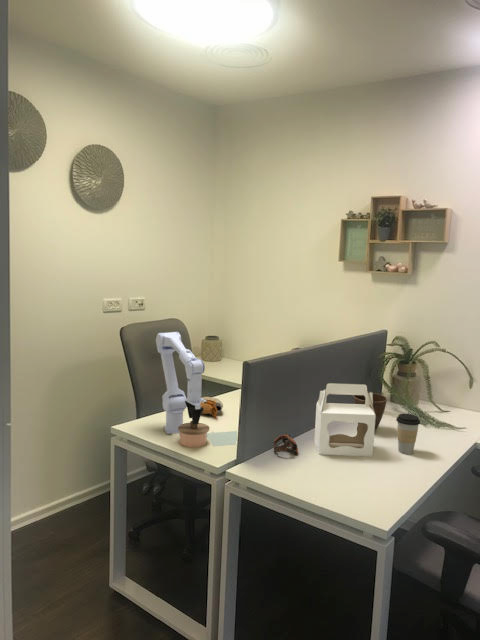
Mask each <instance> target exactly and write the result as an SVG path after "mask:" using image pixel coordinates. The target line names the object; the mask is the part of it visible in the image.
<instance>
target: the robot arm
mask: <svg viewBox="0 0 480 640" xmlns="http://www.w3.org/2000/svg"><path fill="white" fill-rule="evenodd" d="M155 343H156V344H155V345H156V350H157V353H159V354H160V358H161V363H162V368H163V374H164V375H163V376H164V379H165V385H166V391H165V392H164V393H163V394H162V396H161V397H162V408H163V410H164V412H166V413H165V425H164V426H163V428H164V430H165V432H166V434H167V435H170V434H172V435H173V434H177V433H179V434H180V432H179V430H178V427H179V426H180V425H182V424H184V412H185V410H186V409H187V413H188V418H189V419H191V421H192V422H193V424H198V423H200V418H201V417H202V414H203V413H202V411H203V410H204V408H203V407H201V408H200V404H201V401H204V399H203V397H202V379H203V378H202V377H203V375H202V374H203V373H205V371H206V366H205V362H204V361H203V359H201V358H200V359H199V358H197V357H196V356H195V355H194V353H193V352H192V351H191V349H187V348H186V347H185V345H184V343H183V342H182V336H181V334H180V332H179V331H170V332H169V331H168V332H158V333H157V335H156V338H155ZM175 352H176V353H177V354H178V359H179V360H180V361H181V363H182V364H183V365H184V369H185V373H186V374H185V375H186V378H187V389H186V390H187V392H186V393H187V394H186V393H185V391H184V390H183V389H180V388H179V383H178V379H177V378H178V377H177V373H176V367H175V363H174V362H175V361H174V356H173V353H175ZM186 395H187V397H186Z"/></svg>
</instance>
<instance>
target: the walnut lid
mask: <svg viewBox="0 0 480 640" xmlns="http://www.w3.org/2000/svg"><path fill="white" fill-rule="evenodd" d="M178 430H179V432H181V433H184V434H189V435H198V434H204V433H206V432H207V433H209V431H210V426H209V425H208V424H207V423H206V424H205V423H201V422H199V423H198V424H193V422H192V420H191V421H190V422H187V423H183V424H182V425H180V426H179V427H178Z"/></svg>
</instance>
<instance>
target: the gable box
mask: <svg viewBox="0 0 480 640" xmlns="http://www.w3.org/2000/svg"><path fill="white" fill-rule="evenodd" d="M325 386H326V387H325V389H323V390H321V389H320V390H319V395H318V396H319V397H318V400H317V402H316V406H315V423H314V425H315V426H314V441H313V442H314V445H315V448H316V451H317V453H318V455H320V456H321V455H324V456H347V457H351V456H353V457H358V456H359V457H373V455H374V446H375V445H374V442H375V432H374V431H375V418H376V414H375V411H374V408H373V393H374V392H373V391H368V386H367V384H363V383H361V384H360V383H335V382H333V383H332V382H328V383H326V385H325ZM328 395H345V396H347V395H349V396H350V395H351V396H354V395H361V396H363V395H364V396H365V404H354V403H337V402H336V403H333V402H327V397H328ZM332 422H341V423H347V424H357V427H356V435H354V436H350V435H347V434H343V433H342V434H341V433H338V434H337V433H336V434H333V435H330V434H329V433H330V432H329V429H328V425H329V424H330V423H332Z"/></svg>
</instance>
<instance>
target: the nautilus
mask: <svg viewBox="0 0 480 640" xmlns="http://www.w3.org/2000/svg"><path fill="white" fill-rule="evenodd" d="M202 398H203V399H204V401H201V404H200V408H201V407H203V408H204V410H203V411H202V413H201V414H203V415H207V414H209V415H211V416H213V418H212V419H211V420H214V419H218V415H220V414H221V412H222V410H223V408H224V404H223V402H222V401H221V400H220V399H219V398H217V397H210V396H204V397H202Z"/></svg>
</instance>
